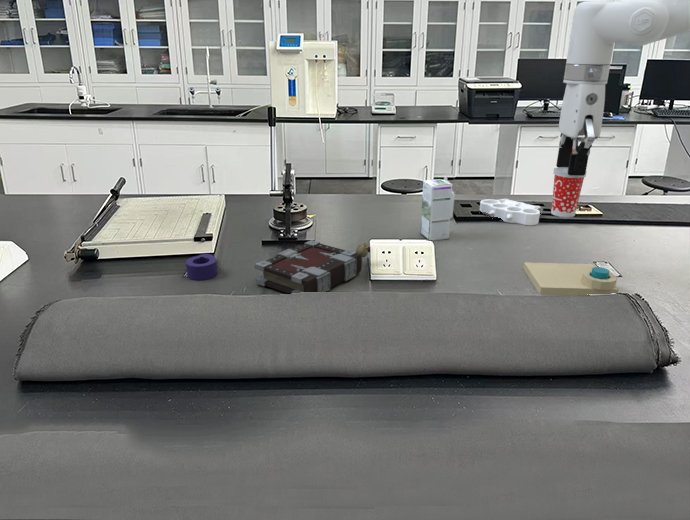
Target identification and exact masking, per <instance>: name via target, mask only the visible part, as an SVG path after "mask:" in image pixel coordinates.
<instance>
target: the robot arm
mask: <svg viewBox="0 0 690 520" xmlns="http://www.w3.org/2000/svg"><path fill="white" fill-rule="evenodd" d="M571 22H572V23H571V29H570V35H569V42H568V49H567V54H566V55H567V56H566V62H565V68H564V75H563V82H562V84H563V83H564V84H566V85H565V88H564V89H565V90H564V94H563V99H562V103H561V108H560V115H559V123H558V131H559V132H560V135H559V136H560V139H559V142H558V146H559V147H558V152H557V159H556V168H558V167H568V175H577V176H584V175H585V173H586V171H587V167H588V161H589V156H590V154H591V148H592V147H593V143H594V142H595V140H598V139H599V138H600V137H601V132H602V125H603V119H604V111H605V103H606V102H605V100H606V85H607V84H608V80H609V74H610V69H611V64H612V58H613V53H614V47H615V44H623V45H628V46H635V47H642V46H647V45H650V44H652V43H656V42H659V41H662V40H666V39H669V38H673V37H677V36H680V35H683V34H686V33H690V0H618V1H614V0H587V1H586V0H585V1H582V2H580V3H578V4H576V6H575V8H574V11H573V15H572V21H571ZM572 149H573V154H572ZM586 174H587V173H586Z"/></svg>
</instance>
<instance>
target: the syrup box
mask: <svg viewBox="0 0 690 520" xmlns="http://www.w3.org/2000/svg"><path fill="white" fill-rule="evenodd" d="M449 182H450V181H449ZM449 182H447V181H445V180H444V178H443V179H442V178H432V179H426V180H423V181H422V195H421V196H422V197H421V216H420V217H421V218H420V235H421V236H423V237H424V238H425V239H427V240H428V241H430V240H432V241H442V240H443V241H444V240H449V239H450V229H451V228H450V227H451V226H450V225H451V224H450V223H451V219H450V213H451V198H452V191H453V183H451V182H450V183H449Z"/></svg>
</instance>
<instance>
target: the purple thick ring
mask: <svg viewBox="0 0 690 520" xmlns="http://www.w3.org/2000/svg"><path fill="white" fill-rule="evenodd" d="M217 262H218V261H217V258H216V257H215V256H214V255H213V254H210V253H202V254H198V255H195V256H191V257H189V258H187V259H186V260H185V269H186V276H187V278H188V279H189V280H191V281H207V280H211V279H213V278H215V277H216V276H218V264H217Z"/></svg>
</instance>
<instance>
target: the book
mask: <svg viewBox="0 0 690 520" xmlns="http://www.w3.org/2000/svg"><path fill="white" fill-rule="evenodd" d="M370 248H371V247H370V246H368V243H367V242H365V243H362V244H359V245H357V247H356V249H355V251H354V250H350V249H343V248H339V247H335V246H331V245H328V244H324V243H321V242H320V241H317V240H314V239H310V240H308V241H306V242H304V244H302V245H300V246H298V247H295V248H293V249H292V248H287V249H285V250H281V252H277V253H275V254H274V256H273V257H271V258H269V259H267V260H260V261H258V262H256V263H254V270H258V271H261V272H263V273H262V274H263V275H260V276H257V278H255V284H257V285H258V286H262V287H268V288H271V289H274V290H277V291H280V292H282V293H285V294H288V293H300V292H326V291H327V292H329V291H330V290H331V288H333V287H335V286H338V285H339V284H341V283H342V282H347V281H349V280H352V279H353V278H354V277H356V276H357V274H359V273H361V271H362V265H363V259H362V258H366V257H367V256H368V253H371V252H370ZM327 292H326V293H327Z"/></svg>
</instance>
